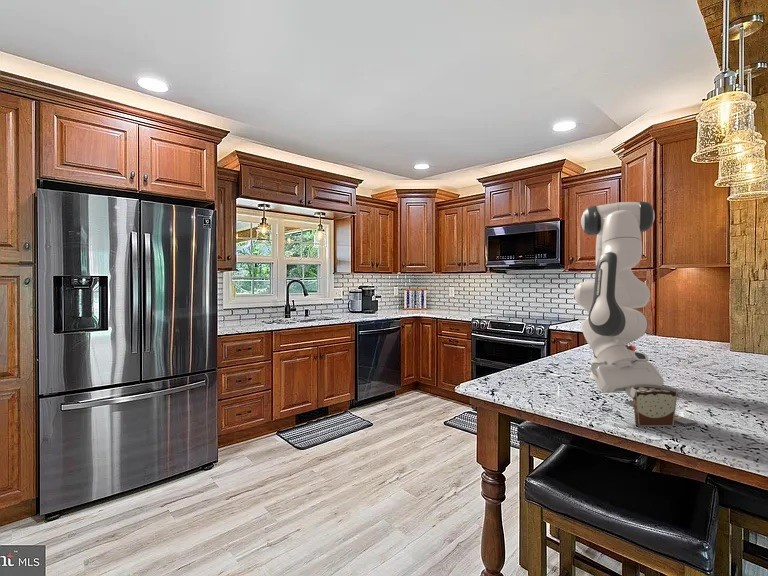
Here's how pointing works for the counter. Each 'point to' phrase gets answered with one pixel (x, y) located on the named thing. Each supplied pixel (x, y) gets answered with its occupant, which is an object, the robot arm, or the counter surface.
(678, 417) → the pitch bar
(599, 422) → the counter surface
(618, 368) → the robot arm
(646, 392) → the food container
